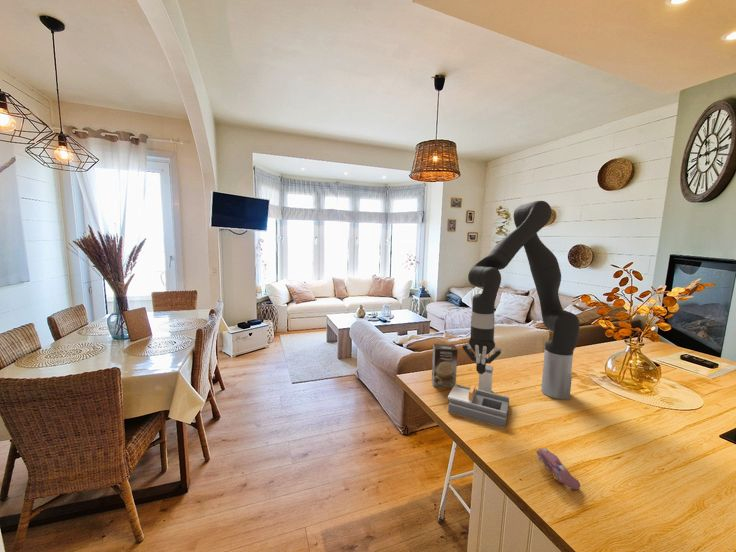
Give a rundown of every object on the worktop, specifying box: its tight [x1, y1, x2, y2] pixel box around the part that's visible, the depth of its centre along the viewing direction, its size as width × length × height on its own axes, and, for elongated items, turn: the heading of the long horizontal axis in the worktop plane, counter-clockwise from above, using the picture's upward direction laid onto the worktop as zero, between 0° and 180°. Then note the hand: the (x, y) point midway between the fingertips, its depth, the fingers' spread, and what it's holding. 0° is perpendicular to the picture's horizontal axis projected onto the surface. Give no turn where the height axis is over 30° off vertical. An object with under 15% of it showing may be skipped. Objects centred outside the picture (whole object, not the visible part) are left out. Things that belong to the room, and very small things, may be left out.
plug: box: [477, 364, 494, 393], centre depth 117 cm, size 4×4×10 cm
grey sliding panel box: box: [447, 384, 510, 429], centre depth 105 cm, size 18×15×4 cm
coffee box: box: [431, 343, 459, 388], centre depth 123 cm, size 9×6×16 cm
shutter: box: [447, 384, 476, 403], centre depth 108 cm, size 8×9×4 cm
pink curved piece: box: [536, 447, 581, 490], centre depth 76 cm, size 10×5×7 cm, turn 6°
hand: (480, 372), depth 104 cm, fingers closed
